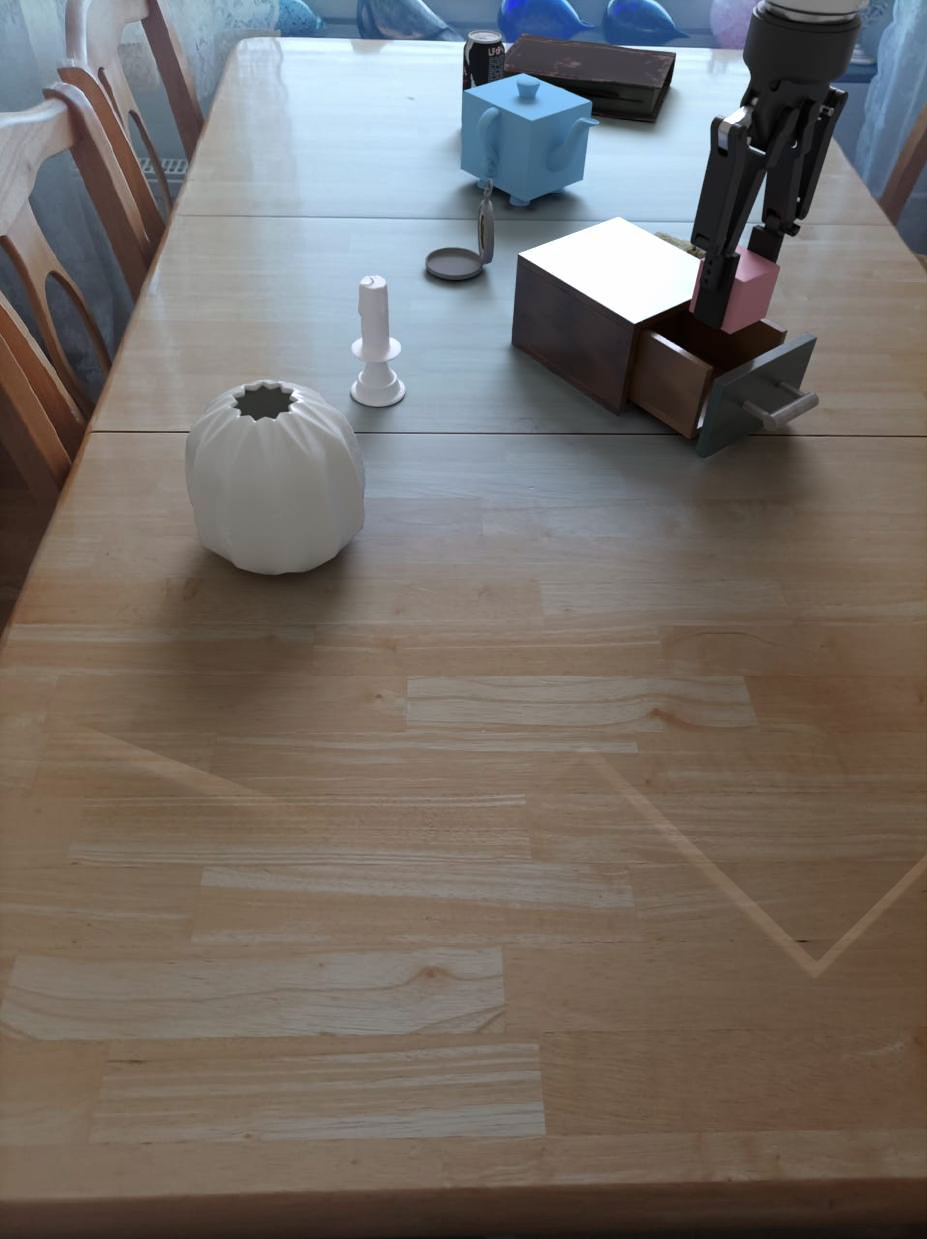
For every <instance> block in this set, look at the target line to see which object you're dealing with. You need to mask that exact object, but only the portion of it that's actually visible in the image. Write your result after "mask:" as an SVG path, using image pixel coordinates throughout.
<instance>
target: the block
mask: <svg viewBox="0 0 927 1239" xmlns="http://www.w3.org/2000/svg"><path fill="white" fill-rule="evenodd" d="M735 252H736V253H738V254H740V255H741V257H740V261H739V264H738V268H737V272H736V276H735V279H734V282H733V286H732V290H731V294H730V298H729V301H728V305H727V309H726V313H725V317H724V320H723V324H722V327H721V328H720V329H722V330H723V331H725V332H727V333H729V334H732V333H734V332H736V331H738V330H740V329H742V328H744V327H746V326H748V325H751V324H753V323H755V322H757V321H759V320H761V319H763V318H767V313H768V310H769V307H770V303H771V300H772V297H773V293H774V290H775V286H776V283H777V281H778V277H779V273H780V271H781V265H780V264H777V263H776V264H775V263H773V262H771V261H769V260H767V259H765V258H763V257H761V256H759V255H757V254H756V253H754V252H752V251H750V250H748V249H747V247H744V246H741V245H740V244H738V245H737V248H736V250H735ZM704 260H705V258H703V259H701V261H700V265H699V269H698V273H697V278H696V282H695V286H694V291H693V295H692V299H691V304H690V308H689V311H690V312H692V313H693V312H694V308H695V304H696V300H697V296H698V291H699V287H700V286H699V281H700V276H701V272H702V268H703V264H704Z"/></svg>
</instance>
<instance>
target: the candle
mask: <svg viewBox="0 0 927 1239" xmlns="http://www.w3.org/2000/svg"><path fill="white" fill-rule="evenodd" d="M388 291H389V290H388V283H387V280H386V279H385V278H383V277H381V276H380V275H377V274H376V275H370V276H369V275H366V276H364V277H363V278H362V279H361V280H360V281H359V284H358V305H357V312H358V314H359V317H360V325H361V337H360V338H357V339H356V340H355V341H354V342H353V343H351V348H350V352H351V353H352V355H353V357H354V358H357V359H358V360H360V361H362V362H365V363H366V364H365V366H364V369H362V370H361V371H360V373H359V374H358V375H357V380H355V382H353V383H352V385H351V387H350V394H351V397H352V398H353V399H354V400H355V401H356V402H358V403H360V404H362V405H364V406H368V407H375V408H380V407H382V408H383V407H387V406H391V405H394V404H396V403H399V401H401V400H402V399H403V398H404V397H405V395H406V392H407V388H406V385H405V383H404V382H403V381H402V380H401V379H399V378H398V375H397V373H396V372H395V370H393V369H391V367H390V365H389V363H388V362H390V361H392V360H394V359H396V358H397V357H398V356H399V355H400V354H401V352H402V346H401V343H400V342H399V341H398V340H397V339H395V338H393V337H391V336H390V313H389V312H390V311H389V292H388Z"/></svg>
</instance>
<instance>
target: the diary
mask: <svg viewBox="0 0 927 1239" xmlns="http://www.w3.org/2000/svg"><path fill="white" fill-rule="evenodd" d="M676 58H677V52H676V51H675V52H674V51H664V50H653V49H642V48H641V49H640V48H633V47H626V46H620V45H613V44H608V43H602V42H593V41H585V40H584V41H583V40H571V39H560V38H554V37H548V36H542V35H536V34H531V33H524V32H522V33H521V34H520V35H519V37H518V38H517V39H516V41H514V43H513V44H511V46H510V47H509V48H508V49H507V51H505V62H504V79H505V78H509V77H512V76H516V75H519V74H522V73H524V74H527V75H529V76H532V77H535V78H537V79H539V80H541V81H544V82H546V83H549V84H551V85H554V86H556V87H558V88H562V89H564V90H566V91H568V92H571V93H573V94H575V95H578V96H580V97H583V98H585V99H587V100H590V101H591V102H592V110H591V114H594V115H598V116H602V117H607V118H610V119H623V120H624V119H625V120H634V121H645V122H646V121H648V122H656V121H657V119H658V117H659V113H660V112H661V108H662V106H663V104H664V101H665V99H666V97H667V94H668V91H669V89H670V87H671V84H672V81H673V76H674V72H675V66H676Z"/></svg>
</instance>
